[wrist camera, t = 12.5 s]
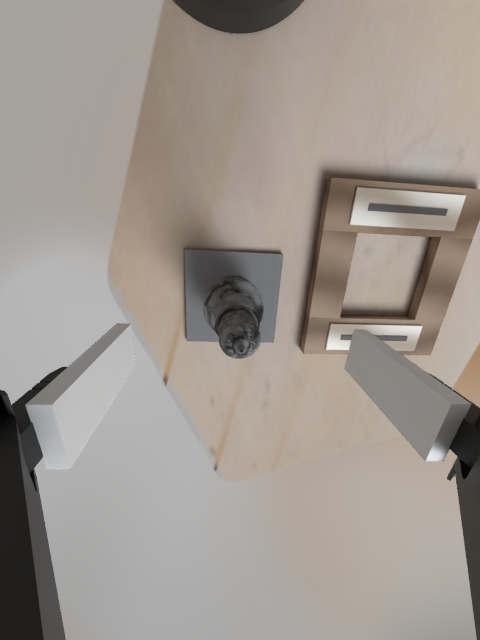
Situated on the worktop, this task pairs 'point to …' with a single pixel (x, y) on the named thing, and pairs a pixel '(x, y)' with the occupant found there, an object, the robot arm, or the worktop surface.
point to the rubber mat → (216, 265)
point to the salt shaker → (235, 315)
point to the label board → (394, 219)
